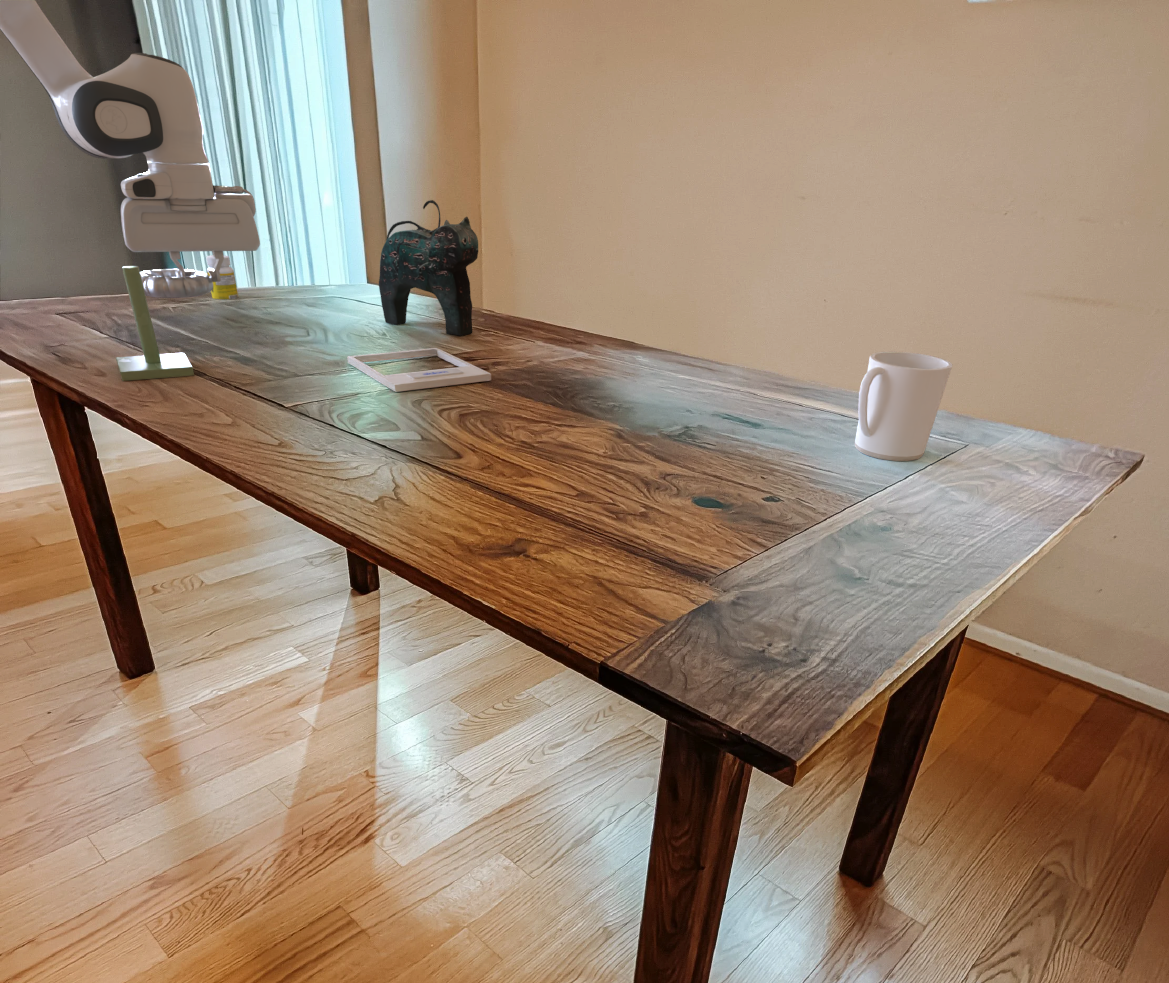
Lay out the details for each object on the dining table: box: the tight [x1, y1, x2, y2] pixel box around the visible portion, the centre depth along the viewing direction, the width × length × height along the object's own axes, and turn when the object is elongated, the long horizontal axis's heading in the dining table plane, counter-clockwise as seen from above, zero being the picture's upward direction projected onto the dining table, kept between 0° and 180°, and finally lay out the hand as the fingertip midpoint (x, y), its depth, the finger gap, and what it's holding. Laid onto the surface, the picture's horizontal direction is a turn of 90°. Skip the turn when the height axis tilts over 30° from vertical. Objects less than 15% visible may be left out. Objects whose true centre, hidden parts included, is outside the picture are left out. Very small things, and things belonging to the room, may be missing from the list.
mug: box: [854, 350, 953, 462], centre depth 94 cm, size 11×9×10 cm
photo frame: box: [346, 347, 492, 393], centre depth 119 cm, size 15×1×18 cm
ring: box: [140, 268, 213, 299], centre depth 134 cm, size 12×12×3 cm
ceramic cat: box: [378, 199, 479, 337], centre depth 140 cm, size 20×6×20 cm, turn 59°
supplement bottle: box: [205, 254, 239, 300], centre depth 154 cm, size 5×5×8 cm
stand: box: [115, 265, 195, 382], centre depth 111 cm, size 9×9×13 cm
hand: (201, 281), depth 136 cm, fingers closed on ring, 3 cm apart
